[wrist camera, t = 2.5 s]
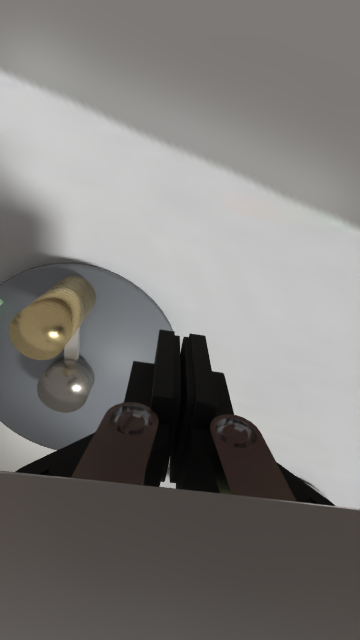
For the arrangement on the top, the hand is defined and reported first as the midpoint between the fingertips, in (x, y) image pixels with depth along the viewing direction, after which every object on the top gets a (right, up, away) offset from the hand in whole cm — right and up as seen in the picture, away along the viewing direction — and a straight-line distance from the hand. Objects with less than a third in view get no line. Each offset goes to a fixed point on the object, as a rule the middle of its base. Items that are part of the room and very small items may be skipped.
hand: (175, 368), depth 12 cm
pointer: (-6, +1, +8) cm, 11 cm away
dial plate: (-7, -1, +11) cm, 13 cm away
